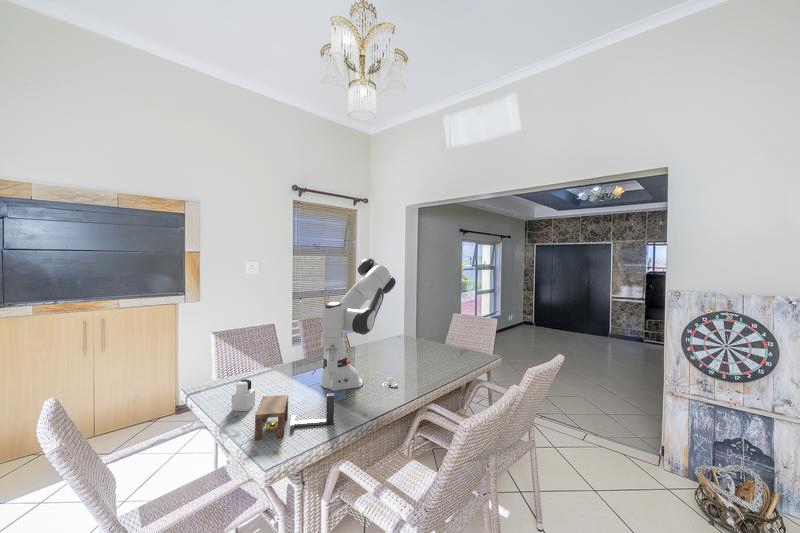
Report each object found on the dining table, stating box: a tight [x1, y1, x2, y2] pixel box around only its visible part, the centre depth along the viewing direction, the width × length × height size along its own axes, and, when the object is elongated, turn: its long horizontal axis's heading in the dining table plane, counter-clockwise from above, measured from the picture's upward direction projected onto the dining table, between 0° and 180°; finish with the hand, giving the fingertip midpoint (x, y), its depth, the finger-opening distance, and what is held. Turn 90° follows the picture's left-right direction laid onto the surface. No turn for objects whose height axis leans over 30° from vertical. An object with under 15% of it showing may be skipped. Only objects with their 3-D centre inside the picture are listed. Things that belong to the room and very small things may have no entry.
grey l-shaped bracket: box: [289, 392, 335, 432], centre depth 135 cm, size 17×8×12 cm, turn 103°
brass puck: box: [265, 420, 278, 432], centre depth 132 cm, size 5×5×2 cm
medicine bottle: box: [231, 378, 256, 412], centre depth 148 cm, size 7×7×12 cm
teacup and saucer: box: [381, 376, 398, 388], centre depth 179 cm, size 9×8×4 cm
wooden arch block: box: [254, 394, 289, 441], centre depth 132 cm, size 10×16×10 cm, turn 13°
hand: (331, 375), depth 136 cm, fingers open, 8 cm apart
